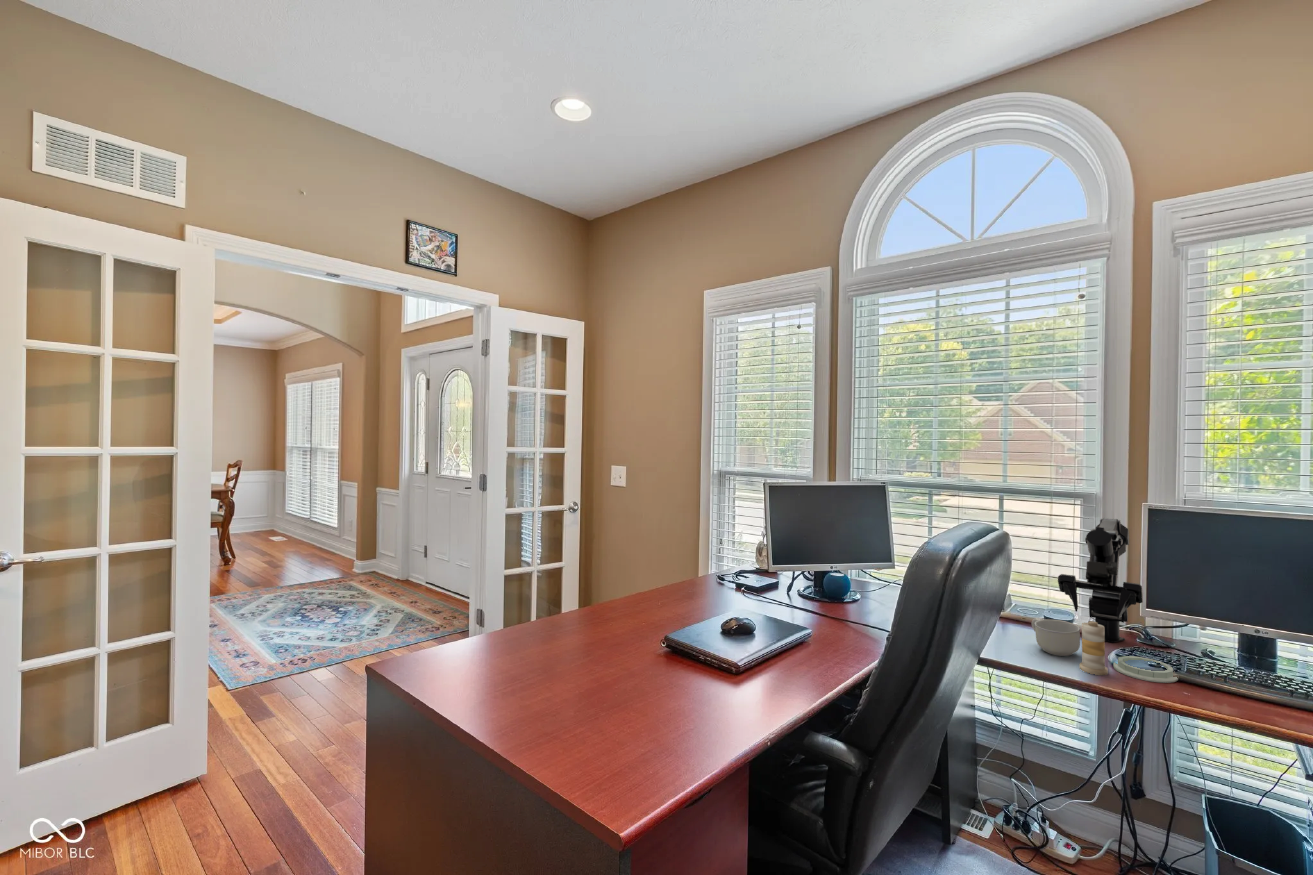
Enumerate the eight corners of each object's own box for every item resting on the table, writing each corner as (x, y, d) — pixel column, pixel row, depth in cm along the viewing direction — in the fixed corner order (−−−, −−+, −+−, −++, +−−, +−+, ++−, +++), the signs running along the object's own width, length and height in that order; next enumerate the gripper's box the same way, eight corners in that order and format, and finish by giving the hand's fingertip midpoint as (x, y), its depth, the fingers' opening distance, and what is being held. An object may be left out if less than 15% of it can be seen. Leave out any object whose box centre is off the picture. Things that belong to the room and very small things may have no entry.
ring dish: (1132, 660, 162) (1132, 652, 162) (1189, 677, 150) (1189, 669, 150) (1102, 667, 157) (1102, 659, 157) (1159, 686, 145) (1159, 677, 145)
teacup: (1089, 659, 163) (1089, 630, 163) (1050, 659, 163) (1050, 630, 163) (1056, 642, 177) (1056, 615, 177) (1020, 642, 177) (1019, 615, 177)
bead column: (1088, 665, 159) (1088, 617, 159) (1113, 673, 153) (1112, 624, 153) (1074, 668, 156) (1073, 620, 156) (1098, 676, 151) (1098, 627, 151)
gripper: (1058, 546, 171) (1052, 591, 162) (1141, 554, 158) (1139, 604, 150) (1063, 568, 176) (1057, 613, 168) (1143, 578, 164) (1141, 627, 156)
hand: (1096, 614), depth 160 cm, fingers open, 9 cm apart
